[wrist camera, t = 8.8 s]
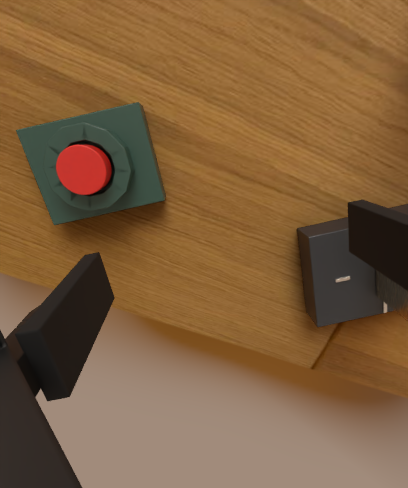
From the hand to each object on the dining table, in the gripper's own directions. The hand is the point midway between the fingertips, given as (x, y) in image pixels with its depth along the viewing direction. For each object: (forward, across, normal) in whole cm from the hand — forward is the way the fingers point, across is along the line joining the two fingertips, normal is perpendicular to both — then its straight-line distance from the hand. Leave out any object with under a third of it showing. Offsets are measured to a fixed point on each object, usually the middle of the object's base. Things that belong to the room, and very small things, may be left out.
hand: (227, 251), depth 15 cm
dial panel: (+14, +15, -9) cm, 23 cm away
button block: (+14, -9, +5) cm, 17 cm away
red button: (+10, -9, +5) cm, 14 cm away
